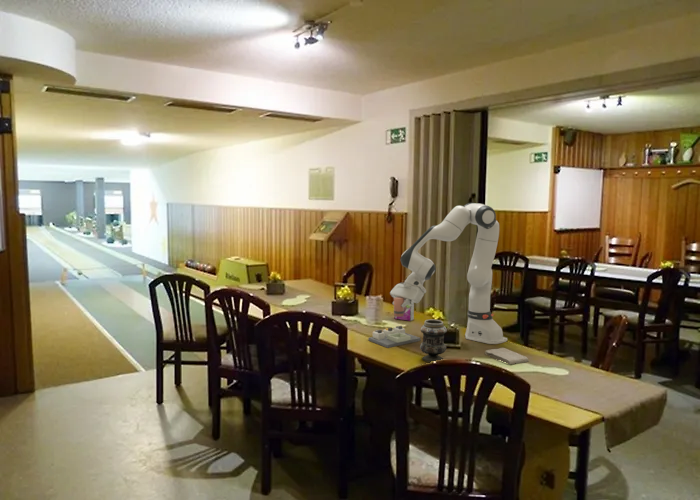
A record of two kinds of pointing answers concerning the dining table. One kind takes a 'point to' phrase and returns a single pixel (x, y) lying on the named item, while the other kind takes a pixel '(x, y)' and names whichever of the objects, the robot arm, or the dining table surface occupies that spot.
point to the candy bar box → (407, 312)
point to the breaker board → (392, 337)
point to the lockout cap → (398, 307)
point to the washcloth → (506, 356)
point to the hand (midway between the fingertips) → (397, 305)
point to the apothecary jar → (433, 340)
